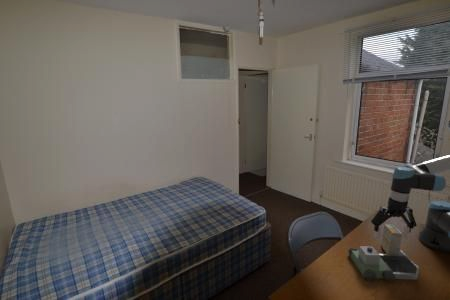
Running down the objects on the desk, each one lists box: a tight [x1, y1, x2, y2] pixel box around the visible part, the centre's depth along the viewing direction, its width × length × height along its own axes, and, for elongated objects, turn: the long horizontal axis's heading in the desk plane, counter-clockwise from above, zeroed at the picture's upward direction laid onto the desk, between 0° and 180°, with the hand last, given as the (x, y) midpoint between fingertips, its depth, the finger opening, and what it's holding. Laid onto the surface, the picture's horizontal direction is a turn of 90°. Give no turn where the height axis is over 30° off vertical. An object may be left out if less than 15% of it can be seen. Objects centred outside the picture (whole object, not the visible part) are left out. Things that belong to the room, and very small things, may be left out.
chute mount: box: [379, 247, 420, 281], centre depth 105 cm, size 11×13×6 cm
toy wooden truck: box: [347, 245, 396, 282], centre depth 106 cm, size 12×16×10 cm
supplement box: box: [380, 223, 403, 254], centre depth 116 cm, size 8×5×13 cm, turn 168°
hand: (390, 237), depth 116 cm, fingers open, 13 cm apart
